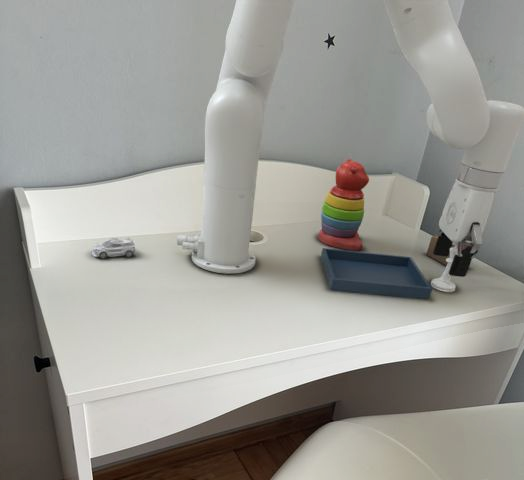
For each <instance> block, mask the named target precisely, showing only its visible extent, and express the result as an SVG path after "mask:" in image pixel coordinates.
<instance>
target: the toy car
mask: <svg viewBox="0 0 524 480" xmlns="http://www.w3.org/2000/svg"><path fill="white" fill-rule="evenodd" d="M133 254H136V247H135V243H134V240H133V239H132V238H131V237H126V238H115V237H114V238H112V237H111V238H110V239H108V240H107V241H104V242H100V243H96V244H94V246H93V247H92V251H91V255H92V256H93V257H97V258H98V257H99V258H100V259H102V260H105V259H107V257H121V256H122V257H123V256H125V257H126V258H131V257H132V256H133Z"/></svg>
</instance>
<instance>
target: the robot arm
mask: <svg viewBox="0 0 524 480" xmlns="http://www.w3.org/2000/svg"><path fill="white" fill-rule="evenodd" d="M295 1H296V0H235V5H234V8H233V13H232V16H231V20H230V22H229V25H228V27H227V29H226V34H225V44H224V45H225V49H224V54H223V58H222V63H221V67H220V70H219V71H220V72H219V77H218V79H217V84H216V88H215V91H214V92H213V94H212V95H211V98H210V99H209V101H208V104H207V107H206V112H205V117H204V118H205V120H204V163H203V164H204V166H203V186H202V187H203V189H202V205H201V206H202V207H201V225H200V231H199V234H198V235H194V236H188V235H181V234H178V235H177V239H176V240H177V241H176V244H177V246H181V249H182V250H185V251H186V250H187V251H188V250H190V251H192V252H191V260H192V262H193V264H195V265H196V266H197V267H199V268H201V269H203V270H205V271H209V272H213V273H218V274H227V275H228V274H229V275H230V274H232V275H233V274H241V273H245V272H248V271H250V270H252V269H253V268H254V267H255V265H256V256H255V254H254V253H253V252H252V251H250V242H251V234H252V233H251V232H252V225H253V216H254V206H255V198H256V197H255V196H256V189H257V188H256V187H257V176H258V169H259V168H258V167H259V159H260V151H261V141H262V134H263V128H264V118H265V110H266V105H267V101H268V98H269V95H270V92H271V88H272V85H273V81H274V78H275V74H276V71H277V68H278V64H279V61H280V59H281V57H282V54H283V49H284V44H285V43H284V42H285V36H286V32H287V28H288V24H289V22H290V18H291V15H292V14H291V13H292V10H293V6H294V3H295ZM382 1H383V2H382V3H383V5H384V8H385V11H386V13H387V16H388V19H389V22H390V24H391V28H392V31H393V33H394V36H395V39H396V43H397V44H398V47H399V50H400V51H401V53H402V54H403V56H404V58H405V60H406V61H407V62H408V64H409V65H410V66H411V67H412V68H413V69H414V70H415V72H416V73H417V75H418V77H419V78H420V80H421V82H422V83H423V85H424V87H425V89H426V91H427V94H428V96H429V98H430V101H431V103H430V104H429V107H428V109H427V111H426V117H425V118H426V125H427V128H428V129H429V131H430V132H431V133H432V134H433V135H434V136H435V137H436V138H438V139H439V140H441V141H442V142H444V143H445V144H446V145H447V146H449V147H451V148H453V149H456V150H464V153H463V156H462V159H461V162H460V165H459V167H458V171H457V175H456V178H455V182H454V183H453V186H452V188H451V190H450V193H448V194H449V195H448V196H447V199H446V202H445V204H444V207H443V209H442V213H441V216H440V219H439V221H438V227H439V230H438V235H437V236H438V239H437V242H436V245H435V248H434V251H433V254H434V255H438V256H449V253H450V248H451V247H452V243H453V242H457V241H458V255H455V256H454V259H453V262H452V265H451V267H450V270H449V274H450V277H451V276H452V277H460V278H464V277H466V276H467V274H468V270H469V268H470V265H471V262H472V260H473V259H474V258H475V255H476V254H477V253H478V252H479V249H480V247H481V246H482V245H483V243H484V241H483V237H482V236H483V233H484V230H485V228H486V225H487V221H488V220H489V216H490V213H491V209H492V206H493V202H494V197H495V195H496V192H498V191H499V189H500V185H501V183H502V180H503V177H504V174H505V171H506V169H507V167H508V164H509V161H510V159H511V155H512V153H513V151H514V148H515V146H516V142H517V140H518V137H519V134H520V132H521V129H522V127H523V124H524V107H523V106H522V105H520V104H517V103H513V102H508V101H502V100H495V99H494V100H493V99H492V100H488V99H487V96H486V93H485V90H484V86H483V83H482V80H481V77H480V74H479V71H478V68H477V65H476V64H475V61H474V59H473V57H472V54H471V52H470V50H469V47H468V46H467V44H466V42H465V40H464V37H463V34H462V33H461V31H460V27H458V25H457V23H456V21H455V19H454V15H453V12H452V9H451V7H450V4H449V0H382ZM495 191H496V192H495ZM494 194H495V195H494ZM440 235H441V236H440ZM465 239H467V240H465ZM464 245H469V246H467V247H466V248H465V249H464V250H463V248H464Z"/></svg>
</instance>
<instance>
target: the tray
mask: <svg viewBox="0 0 524 480" xmlns="http://www.w3.org/2000/svg"><path fill="white" fill-rule="evenodd" d="M320 261H321V264H322V267H323V270H324V273H325V277H326V280H327V284H328V287H329V290H330V291H336V292H345V293H355V294H356V293H357V294H368V295H377V296H387V297H388V296H389V297H397V298H408V299H419V300H430V297H431V294H432V292H433V287H432V286H431V284H430V283H429V281H428V280H427V278H426V277H425V275H424V274H423V272H422V271H421V269H420V268H419V267H418V266H417V264H416V262H415V261H414V259H413V258H412V257H411V256H404V255H394V254H384V253H375V252H367V251H355V250H346V249H338V248H337V249H336V248H327V247H322V250H321V256H320Z"/></svg>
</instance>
